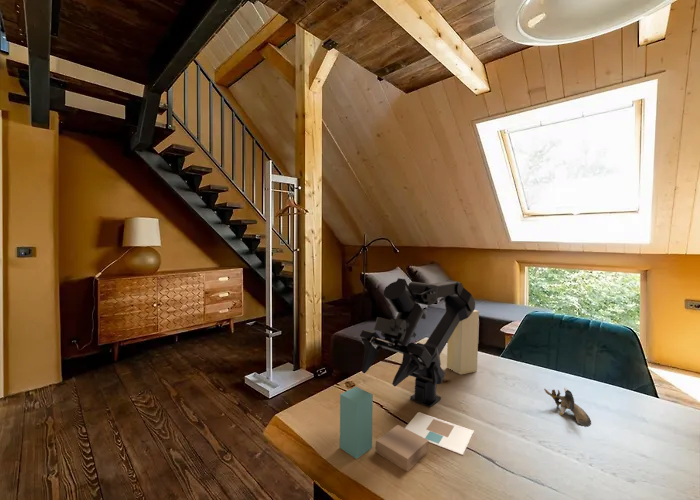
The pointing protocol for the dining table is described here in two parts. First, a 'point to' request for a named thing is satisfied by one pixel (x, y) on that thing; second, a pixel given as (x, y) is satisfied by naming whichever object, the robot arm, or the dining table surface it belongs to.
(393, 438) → the walnut base brick
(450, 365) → the cream tall rectangular block
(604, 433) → the dining table surface
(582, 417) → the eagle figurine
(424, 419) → the page
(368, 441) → the teal brick
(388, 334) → the robot arm
